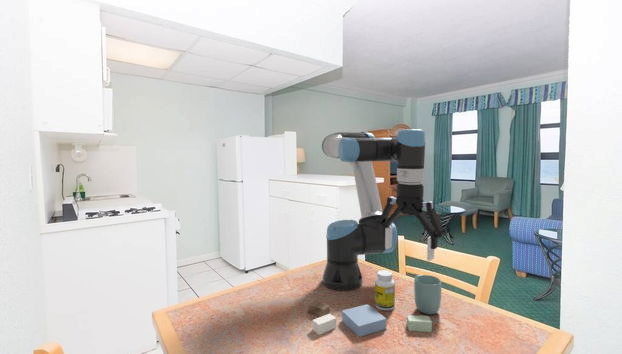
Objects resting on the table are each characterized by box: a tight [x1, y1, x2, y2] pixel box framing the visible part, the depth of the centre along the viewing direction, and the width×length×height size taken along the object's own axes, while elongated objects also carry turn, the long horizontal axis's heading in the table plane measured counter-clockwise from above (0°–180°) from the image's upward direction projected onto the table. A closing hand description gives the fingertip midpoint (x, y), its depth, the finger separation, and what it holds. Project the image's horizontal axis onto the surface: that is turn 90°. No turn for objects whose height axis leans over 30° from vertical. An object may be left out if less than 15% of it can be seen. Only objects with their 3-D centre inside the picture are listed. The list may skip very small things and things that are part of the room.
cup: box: [413, 274, 442, 315], centre depth 92 cm, size 8×8×10 cm
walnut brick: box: [307, 300, 331, 318], centre depth 92 cm, size 6×3×3 cm, turn 52°
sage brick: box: [406, 314, 433, 333], centre depth 84 cm, size 6×3×3 cm, turn 84°
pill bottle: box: [374, 269, 396, 312], centre depth 96 cm, size 6×6×11 cm
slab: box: [341, 303, 387, 338], centre depth 86 cm, size 9×9×3 cm
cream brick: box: [312, 313, 337, 336], centre depth 84 cm, size 6×3×3 cm, turn 123°
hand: (408, 253), depth 90 cm, fingers open, 13 cm apart
